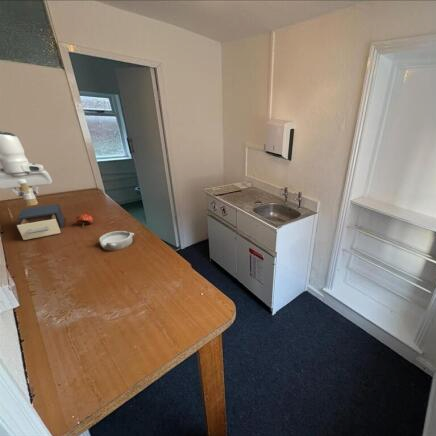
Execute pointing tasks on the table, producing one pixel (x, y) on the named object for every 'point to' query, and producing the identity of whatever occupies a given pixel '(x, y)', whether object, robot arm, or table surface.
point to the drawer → (39, 226)
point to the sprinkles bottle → (27, 193)
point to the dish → (116, 240)
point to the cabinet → (42, 213)
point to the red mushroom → (84, 219)
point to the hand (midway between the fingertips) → (28, 195)
